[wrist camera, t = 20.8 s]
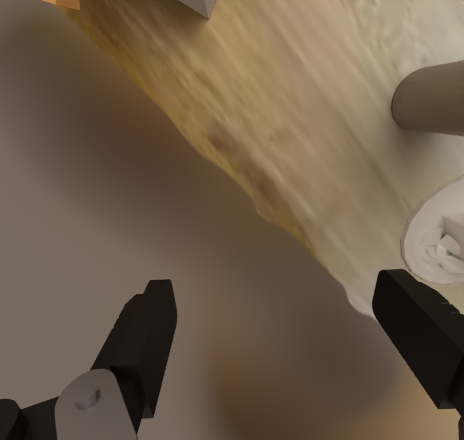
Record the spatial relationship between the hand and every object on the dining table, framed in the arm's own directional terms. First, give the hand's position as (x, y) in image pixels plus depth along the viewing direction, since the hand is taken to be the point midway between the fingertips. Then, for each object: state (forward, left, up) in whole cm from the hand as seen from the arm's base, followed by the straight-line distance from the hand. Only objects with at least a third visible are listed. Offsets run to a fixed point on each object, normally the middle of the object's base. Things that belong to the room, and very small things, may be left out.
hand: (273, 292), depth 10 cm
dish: (-45, +19, -38) cm, 62 cm away
